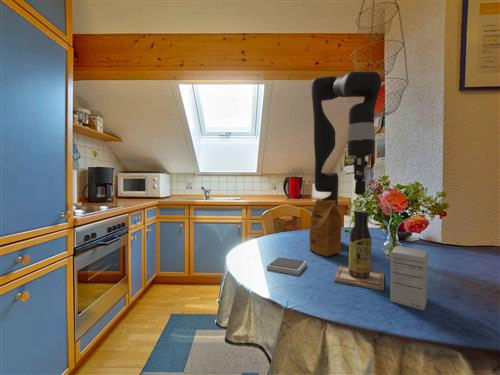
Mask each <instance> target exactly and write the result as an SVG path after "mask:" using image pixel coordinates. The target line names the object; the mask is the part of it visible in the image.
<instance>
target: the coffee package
mask: <svg viewBox="0 0 500 375" xmlns="http://www.w3.org/2000/svg"><path fill="white" fill-rule="evenodd" d="M336 204H337V201H322V200H320V198H316V200H315V203H314V206H313V208H312V209H313V210H312V212H311V213H312V214H311V217H310V225H309V232H308V233H309V234H308V235H309V251H310V252H315V254H317V255H318V256H324V257H330V256H333V255H337V254H340V253H342V248H341V246H342V243H341V242H342V241H341V240H342V216H341V214H340V212H339V208H338V209H337V206H336Z"/></svg>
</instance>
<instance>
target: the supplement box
mask: <svg viewBox="0 0 500 375" xmlns="http://www.w3.org/2000/svg"><path fill="white" fill-rule="evenodd" d="M428 253H429V252H428V250H426V249H422V248H414V247H407V246H399V245H395V246H394V248H393V249H391V252H390V268H389V269H390V271H389V272H390V276H389V277H390V278H389V279H390V282H389V286H390V287H389V290H390V291H389V298H390V299H389V301H390V302H391V303H392V302H393V303H396V304H399V305H402V306H406V307H410V308H413V309H417V310H421V311H425V310H426V305H427V302H428V265H429V264H428V260H429V259H428V255H429V254H428Z"/></svg>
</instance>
